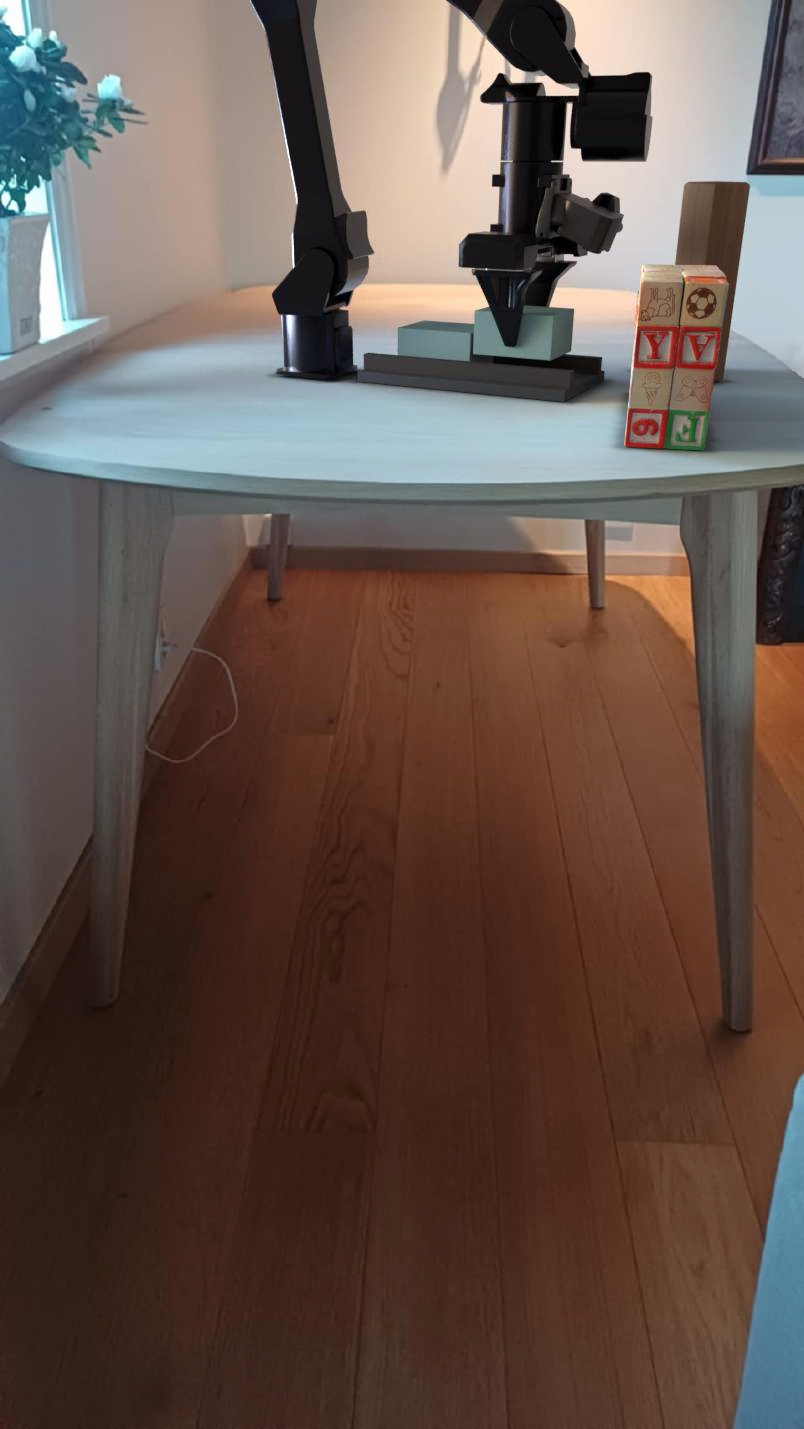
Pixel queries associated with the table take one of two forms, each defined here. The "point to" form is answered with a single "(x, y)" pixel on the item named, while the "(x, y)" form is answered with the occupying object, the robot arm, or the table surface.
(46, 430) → the table surface
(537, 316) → the grey-green rectangular block
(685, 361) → the stack of blocks
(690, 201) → the wooden block
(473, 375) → the pad jig
